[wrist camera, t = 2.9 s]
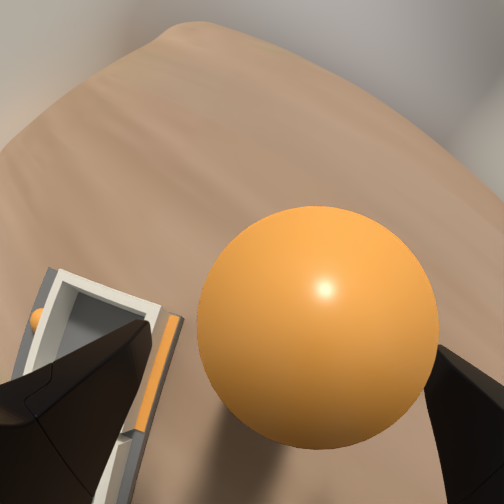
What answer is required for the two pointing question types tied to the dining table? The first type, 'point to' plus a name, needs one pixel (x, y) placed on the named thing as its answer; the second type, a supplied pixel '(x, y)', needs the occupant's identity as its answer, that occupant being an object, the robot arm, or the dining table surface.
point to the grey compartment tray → (87, 330)
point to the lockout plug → (317, 327)
